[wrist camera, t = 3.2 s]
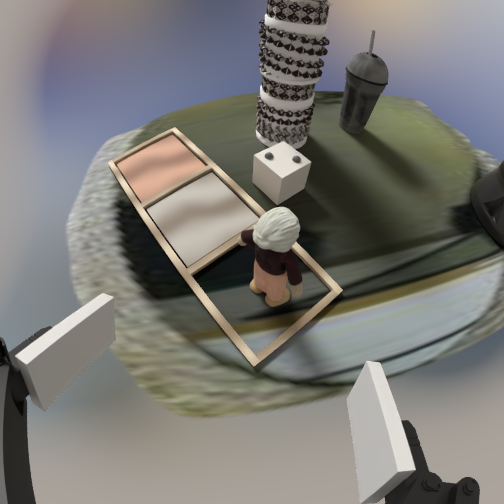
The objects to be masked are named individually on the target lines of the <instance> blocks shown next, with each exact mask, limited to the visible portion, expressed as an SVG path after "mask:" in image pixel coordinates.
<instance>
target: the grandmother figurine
mask: <svg viewBox="0 0 504 504" xmlns="http://www.w3.org/2000/svg"><path fill="white" fill-rule="evenodd" d="M299 231H300V224H299V220H298V218H297V217H296V216H295V215H294V214H293V213H292V212H291V211H290V210H289V209H288V208H285V207H278V208H273V209H271V210H270V211H268V212H266V213H265V214H263V215H262V216H261V217H260V219H259V220H258V222H257V225H254V229H250V230H244V231H242V232H241V235H240V236H239V237H238V243H239V244H240V245H241V246H245V245H250V246H252V247H254V248H255V255H256V259H255V264H254V279H253V280H252V282H251V283H250V289H251V290H252V291H253V292H255V293H258V294H259V293H262V292H265V293H267V295H266V297H265V301H266V303H267V304H268V305H269V306H271V307H275V306H278V305H280V304H283V303H285V302H287V301H288V300H289V299H290V292H289V290H288V289H287V288H286V287H285V286H286V282H287V277H288V280H289V283H290V288H291V294H292V296H293V297H300V296H301V295H302V292H303V291H302V275H301V272H300V269H299V266H298V261H297V257H296V255H295V253H294V251H293V250H292V249H291V247H292V246H293V245H294V244H295V242H296V239H297V238H298V237H299Z"/></svg>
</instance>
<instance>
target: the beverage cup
mask: <svg viewBox="0 0 504 504" xmlns="http://www.w3.org/2000/svg"><path fill="white" fill-rule="evenodd" d="M374 36H375V31H374V30H373V31H372V34H371V41H370V47H369V53H368V52H364V53H360V54H357V55H355V56H354V57H352V59H351V60H350V62H349V64H348V65H347V67H346V85H345V91H344V97H343V103H342V108H341V114H340V122H339V125H340V127H341V128H342V129H343V130H345V131H347V132H349V133H352V134H359V133H361V132H362V130H363V128H364V126H365V125H366V123H367V121H368V119H369V117H370V115H371V113H372V111H373V109H374V107H375V104H376V102H377V100H378V98H379V96H380V94H381V93H382V92H383V90H384V88H385V86H386V85H387V84H388V69H387V66H386V64H385V63H384V61H383V60H382V59H381V58H380V57H378V56H377V55H375V54H372V49H373V43H374Z"/></svg>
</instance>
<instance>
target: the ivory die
mask: <svg viewBox="0 0 504 504" xmlns="http://www.w3.org/2000/svg"><path fill="white" fill-rule="evenodd" d="M310 165H311V161H309V160H308V159H307V158H306V157H304V156H303V155H302V154H300V153H299V152H298V151H296V150H295V149H294V148H293V147H291V146H290V145H289V144H287V143H286V142H284V141H282V142H280V143H278V144H276V145H274V146H272V147H270V148H267V149H265V150H263V151H261V152H259V153H257V154H255V155H254V164H253V183H254V184H255V185H256V186H257V187H258V188H259V189H260V190H261V191H262V192H263V193H265V194H266V195H267V196H268V197H269V198H270V199H271V200H272V201H273V202H274V203H275V204H276V205H279V204H280V203H282V202H283V201H285V200H287V199H288V198H290V197H291V196H293V195H295V194H296V193H298V192H299V191H301V190H303V189H304V188H305V184H306V180H307V176H308V173H309V169H310Z"/></svg>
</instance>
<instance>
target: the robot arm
mask: <svg viewBox="0 0 504 504" xmlns="http://www.w3.org/2000/svg"><path fill="white" fill-rule="evenodd" d="M470 196H471V202H472V205H473V208H474V210H475V212H476V214H477V216H478V218H479V220H480V222H481V223H482V225H483V226H484V228H485V229H486V230H487V232H488V233H489V234H490V235H491V236H492V237H493V239H494V240H496V241H497V242H498V243H499V244H500V245H502V246H504V161H503V162H502V163H501V165H500V166H499V167H498V168H497V169H495V170H494V171H492V172H490V173H489V174H487V175H485V176H484V177H482V178H480V179H479V180H477V182H476V183H475V184H474V185H473V187H472V188H471V192H470ZM115 340H116V336H115V317H114V297H112V296H109V295H107V294H104V293H102V294H101V295H99V296H98V297H96V298H95V299H93V300H92V301H90V302H89V303H87V304H86V305H84V306H83V307H82V308H80V309H79V310H77V311H76V312H75V313H73V314H71V315H70V316H69V317H67V318H66V319H64V320H63V321H62V322H60V323H59V324H57V325H56V326H55V327H51V326H49V327H46V328H43V329H41V330H39V331H38V332H36V333H35V334H34V336H31V337H30V338H28V340H25V341H24V342H22V343H21V344H20V345H18V346H17V347H16V348H14V349H13V350H12V351H10V352H9V353H8V351H7V348H6V344H5V341H4V340H3V338H1V337H0V504H36V502H35V497H34V492H33V486H32V479H31V472H30V464H29V453H28V438H27V400H26V397H27V396H28V395H30V397H31V399H32V402H33V403H34V404H35V405H37V406H38V407H39V408H41V409H42V410H43V411H46V409H47V408H48V407H49V406H50V405H51V404H52V403H53V402H54V401H55V400H56V399H57V398H58V397H59V396H60V395H61V394H62V393H63V392H64V391H65V390H66V389H67V388H68V387H69V386H70V385H71V383H73V381H75V380H76V378H77V377H78V376H79V375H80V374H81V373H82V372H83V371H84V370H85V369H86V368H87V367H88V366H89V365H90V364H91V363H92V362H93V361H94V360H95V359H96V358H97V357H98V356H99V355H100V354H101V353H102V352H103V351H104V350H105V349H106V348H108V347H109V346H110V345H111V344H112V343H113V342H114V341H115ZM346 401H347V406H348V412H349V419H350V424H351V432H352V438H353V446H354V453H355V460H356V468H357V478H358V486H359V497H360V504H369V503H377V502H379V501H380V500H381V499H382V498H384V497H385V502H386V503H385V504H479V494H480V489H479V485H478V483H477V481H476V480H475V479H473V478H471V477H465V478H463V479H461V480H460V481H459V482H458V483H456V484H454V483H446V482H442V480H441V479H440V477H439V476H438V475H436V474H435V473H432V472H429V470H428V466H427V463H426V460H425V457H424V454H423V451H422V448H421V446H420V442H419V439H418V436H417V433H416V430H415V428H414V427H413V426H412V424H411V423H410V422H409V421H408V420H405V421H403V420H401V419H400V417H399V414H398V411H397V408H396V405H395V402H394V399H393V396H392V394H391V391H390V388H389V385H388V383H387V380H386V377H385V375H384V372H383V369H382V367H381V364H380V363H378V362H371V361H366V363H365V365H364V367H363V369H362V371H361V373H360V375H359V377H358V379H357V381H356V383H355V385H354V387H353V388H352V390H351V392H350V394H349V396H348V397H347V399H346Z"/></svg>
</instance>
